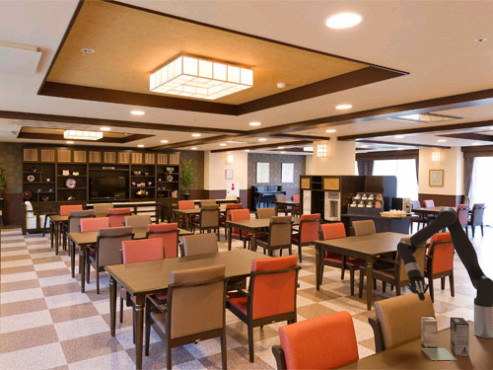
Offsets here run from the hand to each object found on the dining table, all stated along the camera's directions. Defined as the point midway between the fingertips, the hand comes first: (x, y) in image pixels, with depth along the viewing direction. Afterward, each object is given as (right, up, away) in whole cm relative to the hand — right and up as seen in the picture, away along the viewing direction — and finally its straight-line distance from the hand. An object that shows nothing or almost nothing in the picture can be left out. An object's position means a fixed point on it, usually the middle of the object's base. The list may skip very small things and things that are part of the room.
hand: (422, 300), depth 206 cm
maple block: (0, -22, -7) cm, 23 cm away
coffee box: (+12, -22, -15) cm, 29 cm away
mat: (0, -22, -17) cm, 28 cm away
